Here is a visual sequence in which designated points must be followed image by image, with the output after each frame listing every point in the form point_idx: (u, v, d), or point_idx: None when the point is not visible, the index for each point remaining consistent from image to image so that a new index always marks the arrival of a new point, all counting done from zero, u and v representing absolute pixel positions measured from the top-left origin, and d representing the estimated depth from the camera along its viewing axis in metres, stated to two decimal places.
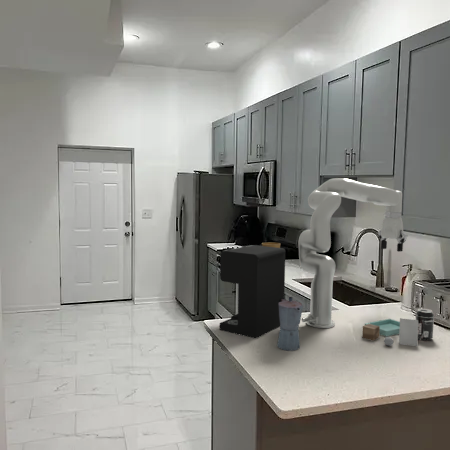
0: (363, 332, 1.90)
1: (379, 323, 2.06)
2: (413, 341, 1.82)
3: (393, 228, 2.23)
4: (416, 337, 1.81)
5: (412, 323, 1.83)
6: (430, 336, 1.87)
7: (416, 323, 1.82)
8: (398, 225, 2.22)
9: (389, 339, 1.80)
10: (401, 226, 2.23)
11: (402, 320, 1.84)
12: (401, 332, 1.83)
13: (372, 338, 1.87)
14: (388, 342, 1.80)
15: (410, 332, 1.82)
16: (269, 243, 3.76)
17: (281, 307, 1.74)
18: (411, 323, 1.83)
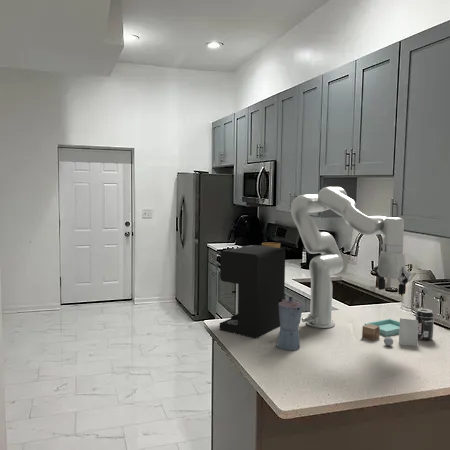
0: (363, 332, 1.90)
1: (379, 323, 2.06)
2: (413, 341, 1.82)
3: (393, 265, 1.77)
4: (416, 337, 1.81)
5: (412, 323, 1.83)
6: (430, 336, 1.87)
7: (416, 323, 1.82)
8: (399, 261, 1.76)
9: (389, 339, 1.80)
10: (403, 262, 1.77)
11: (402, 320, 1.84)
12: (401, 332, 1.83)
13: (372, 338, 1.87)
14: (388, 342, 1.80)
15: (410, 332, 1.82)
16: (269, 243, 3.76)
17: (281, 307, 1.74)
18: (411, 323, 1.83)
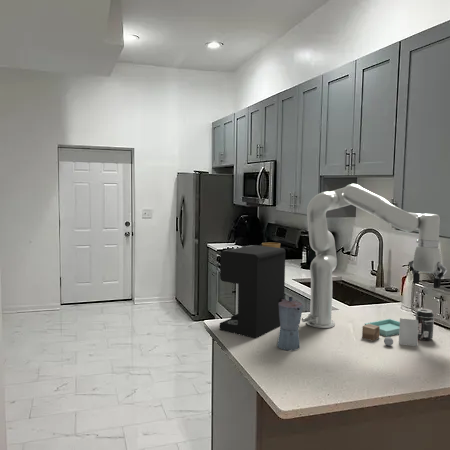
0: (363, 332, 1.90)
1: (379, 323, 2.06)
2: (413, 341, 1.82)
3: (429, 260, 1.84)
4: (416, 337, 1.81)
5: (412, 323, 1.83)
6: (430, 336, 1.87)
7: (416, 323, 1.82)
8: (435, 256, 1.83)
9: (389, 339, 1.80)
10: (439, 257, 1.83)
11: (402, 320, 1.84)
12: (401, 332, 1.83)
13: (372, 338, 1.87)
14: (388, 342, 1.80)
15: (410, 332, 1.82)
16: (269, 243, 3.76)
17: (281, 307, 1.74)
18: (411, 323, 1.83)
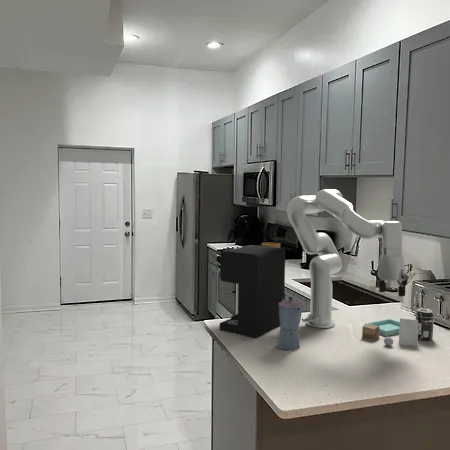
0: (363, 332, 1.90)
1: (379, 323, 2.06)
2: (413, 341, 1.82)
3: (392, 268, 1.81)
4: (416, 337, 1.81)
5: (412, 323, 1.83)
6: (430, 336, 1.87)
7: (416, 323, 1.82)
8: (398, 264, 1.80)
9: (389, 339, 1.80)
10: (402, 265, 1.80)
11: (402, 320, 1.84)
12: (401, 332, 1.83)
13: (372, 338, 1.87)
14: (388, 342, 1.80)
15: (410, 332, 1.82)
16: (269, 243, 3.76)
17: (281, 307, 1.74)
18: (411, 323, 1.83)
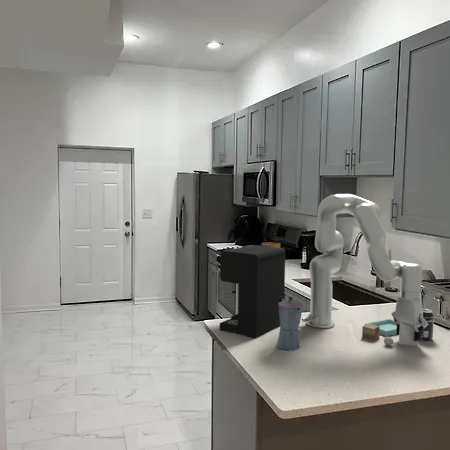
0: (363, 332, 1.90)
1: (379, 323, 2.06)
2: (413, 341, 1.82)
3: (410, 311, 1.79)
4: None
5: None
6: (430, 336, 1.87)
7: None
8: (417, 308, 1.78)
9: (389, 339, 1.80)
10: (420, 309, 1.79)
11: None
12: (401, 332, 1.83)
13: (372, 338, 1.87)
14: (388, 342, 1.80)
15: (410, 332, 1.82)
16: (269, 243, 3.76)
17: (281, 307, 1.74)
18: None
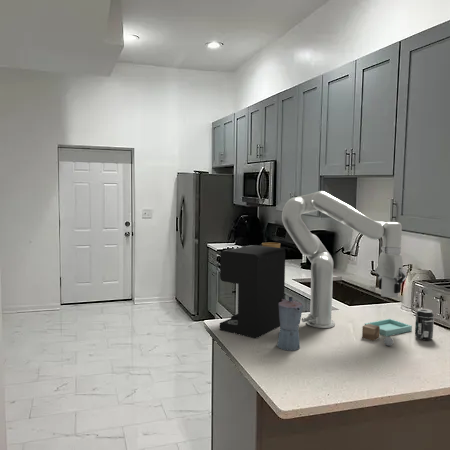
0: (363, 332, 1.90)
1: (379, 323, 2.06)
2: (393, 293, 1.98)
3: (391, 265, 1.95)
4: None
5: None
6: (430, 336, 1.87)
7: None
8: (397, 262, 1.94)
9: (389, 339, 1.80)
10: (400, 263, 1.95)
11: None
12: (382, 285, 1.99)
13: (372, 338, 1.87)
14: (388, 342, 1.80)
15: (391, 285, 1.98)
16: (269, 243, 3.76)
17: (281, 307, 1.74)
18: None
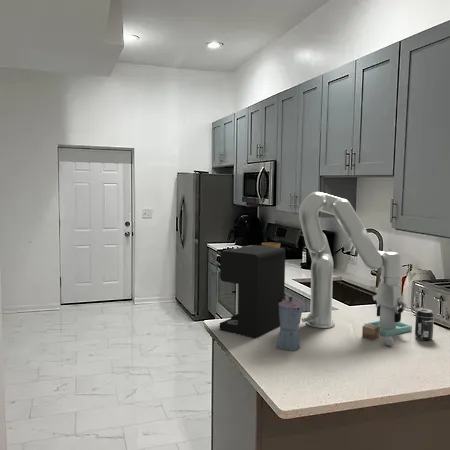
0: (363, 332, 1.90)
1: (379, 323, 2.06)
2: (392, 326, 1.99)
3: (390, 295, 1.96)
4: (395, 322, 1.99)
5: (391, 309, 2.00)
6: (430, 336, 1.87)
7: None
8: (396, 293, 1.95)
9: (389, 339, 1.80)
10: (399, 293, 1.96)
11: (382, 307, 2.01)
12: (381, 317, 2.00)
13: (372, 338, 1.87)
14: (388, 342, 1.80)
15: (389, 318, 1.99)
16: (269, 243, 3.76)
17: (281, 307, 1.74)
18: (390, 310, 2.00)
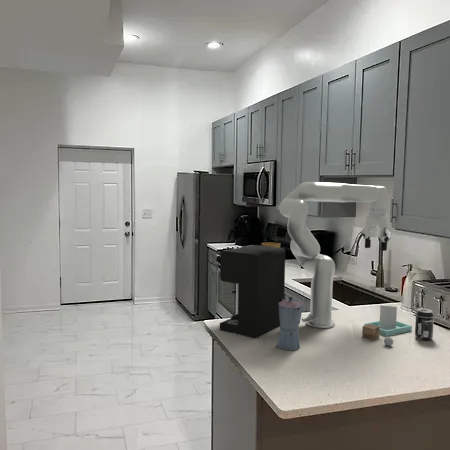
0: (363, 332, 1.90)
1: (379, 323, 2.06)
2: (392, 326, 1.99)
3: (377, 226, 2.10)
4: (395, 322, 1.99)
5: (391, 309, 2.00)
6: (430, 336, 1.87)
7: (395, 309, 1.99)
8: (382, 223, 2.09)
9: (389, 339, 1.80)
10: (385, 224, 2.10)
11: (382, 307, 2.01)
12: (381, 317, 2.00)
13: (372, 338, 1.87)
14: (388, 342, 1.80)
15: (389, 318, 1.99)
16: (269, 243, 3.76)
17: (281, 307, 1.74)
18: (390, 310, 2.00)
